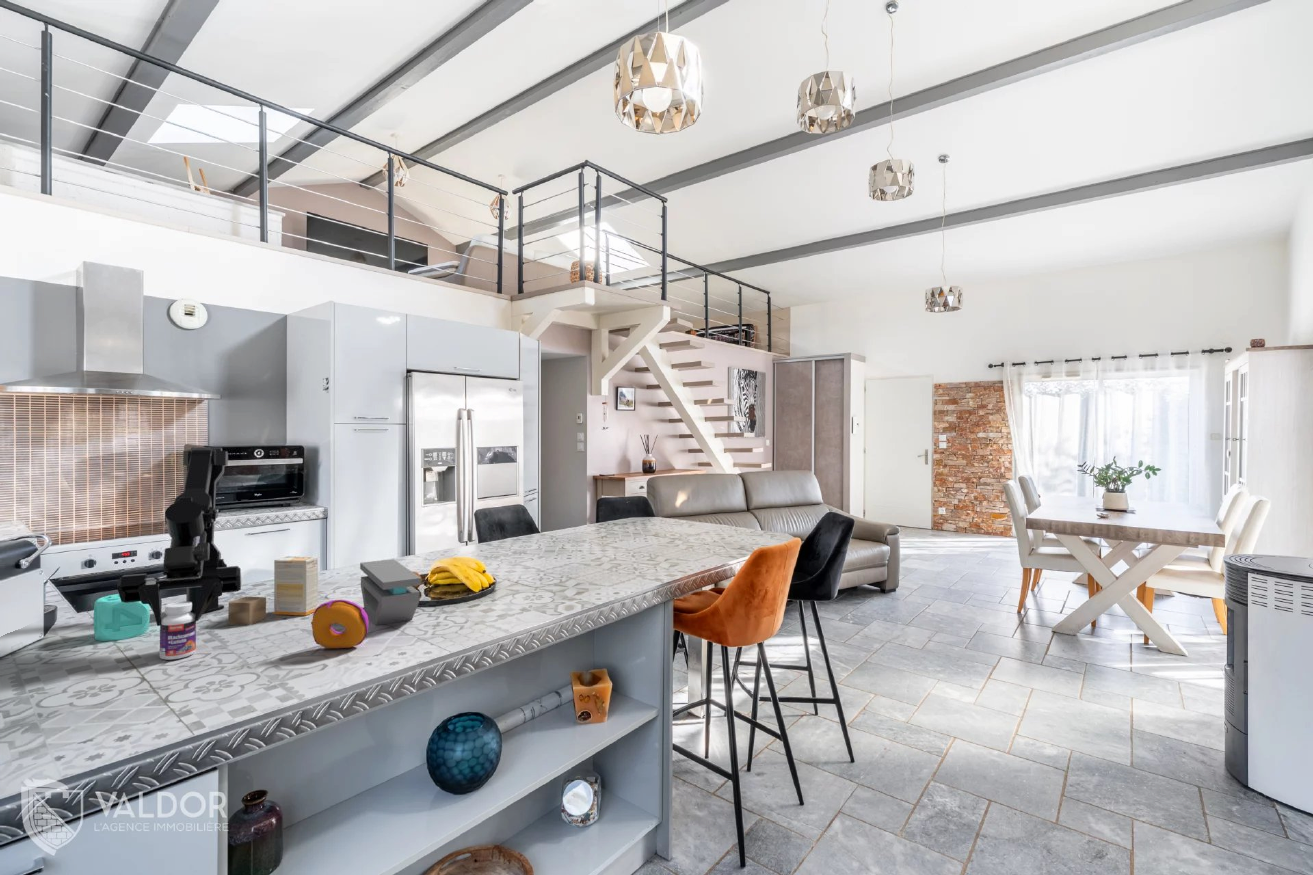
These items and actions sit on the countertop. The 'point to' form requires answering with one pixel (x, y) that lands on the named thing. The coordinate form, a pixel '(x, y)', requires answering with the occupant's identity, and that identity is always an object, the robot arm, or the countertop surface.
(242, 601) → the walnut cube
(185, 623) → the pill bottle
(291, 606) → the supplement box
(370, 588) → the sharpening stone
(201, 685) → the countertop surface
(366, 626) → the donut
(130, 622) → the decorative dice
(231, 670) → the countertop surface
